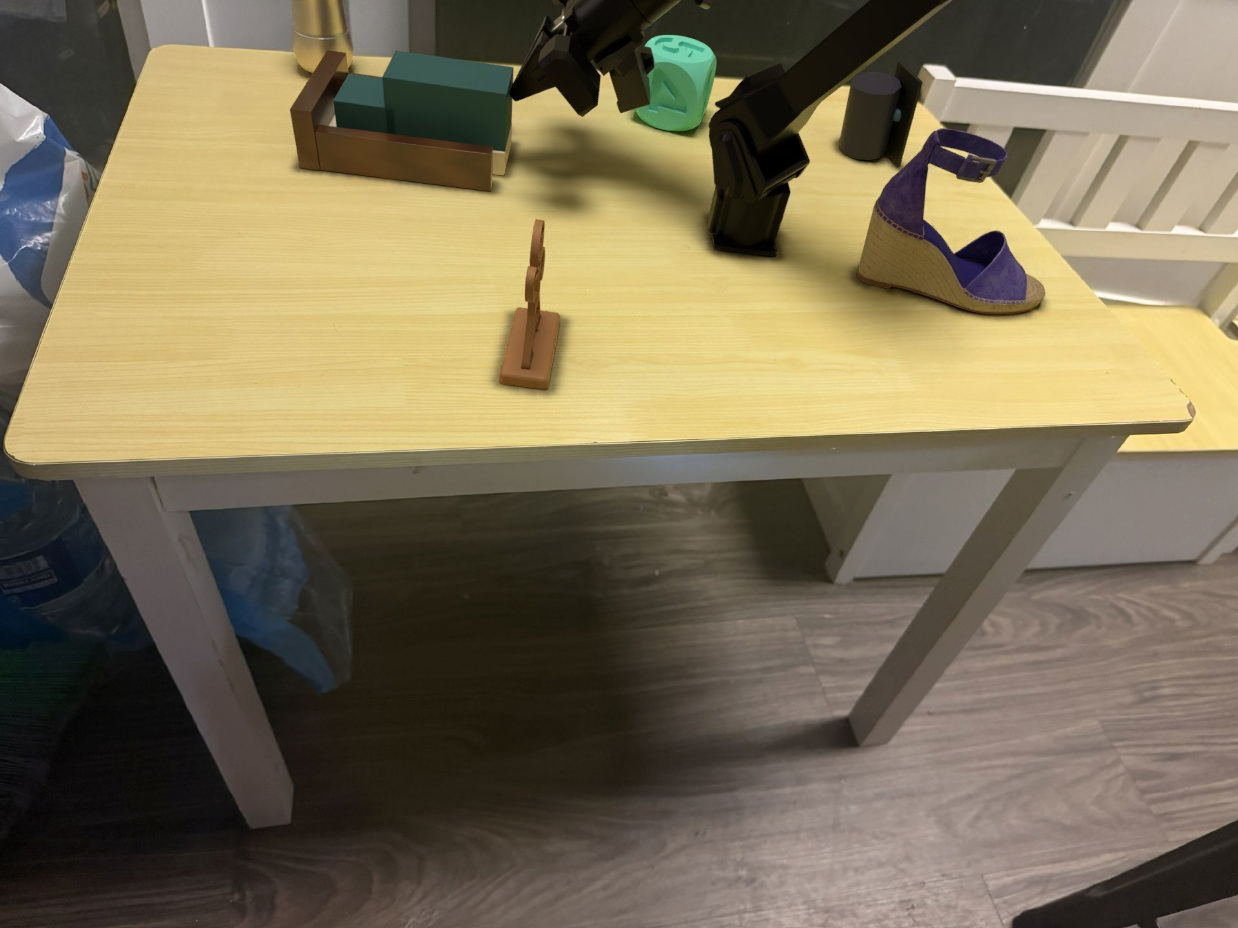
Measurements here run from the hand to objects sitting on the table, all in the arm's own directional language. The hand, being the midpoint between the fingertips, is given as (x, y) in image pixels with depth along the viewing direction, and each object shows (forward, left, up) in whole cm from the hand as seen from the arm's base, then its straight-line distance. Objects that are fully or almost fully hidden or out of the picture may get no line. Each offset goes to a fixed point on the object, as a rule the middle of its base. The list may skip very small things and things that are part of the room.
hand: (512, 96), depth 83 cm
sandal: (-45, +14, -7) cm, 48 cm away
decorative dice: (-18, -15, -7) cm, 24 cm away
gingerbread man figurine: (-5, +31, -7) cm, 32 cm away
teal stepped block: (+9, 0, -7) cm, 12 cm away
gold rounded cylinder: (+23, -15, -7) cm, 29 cm away
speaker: (-42, -12, -7) cm, 44 cm away
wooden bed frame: (+10, 0, -7) cm, 12 cm away
